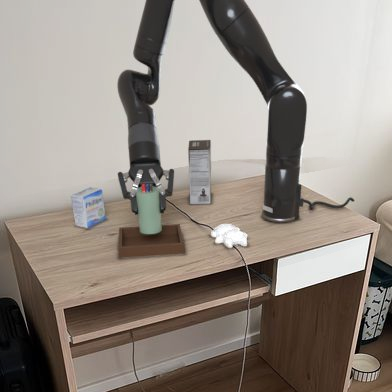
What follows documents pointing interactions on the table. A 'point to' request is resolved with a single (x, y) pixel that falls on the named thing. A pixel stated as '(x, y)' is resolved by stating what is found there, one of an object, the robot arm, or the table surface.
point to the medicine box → (88, 207)
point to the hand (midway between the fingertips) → (149, 212)
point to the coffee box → (200, 171)
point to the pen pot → (148, 209)
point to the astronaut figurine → (229, 235)
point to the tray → (150, 242)
